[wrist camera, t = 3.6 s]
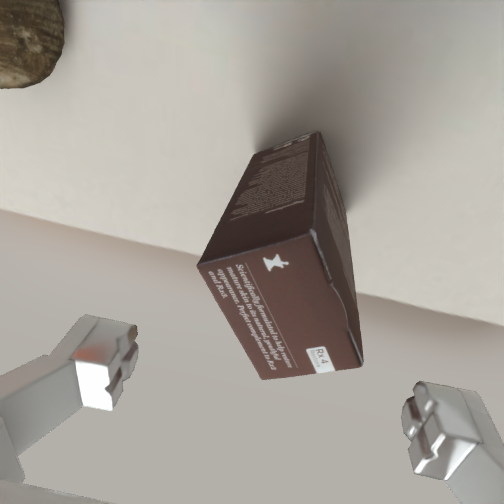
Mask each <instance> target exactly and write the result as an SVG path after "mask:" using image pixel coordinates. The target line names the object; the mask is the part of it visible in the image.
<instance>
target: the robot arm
mask: <svg viewBox="0 0 504 504" xmlns="http://www.w3.org/2000/svg"><path fill="white" fill-rule="evenodd" d="M137 335H138V332H137V326H136V325H133V324H128V323H124V322H119V321H115V320H111V319H106V318H100V317H95V316H91V315H86V314H85V315H84V316H82V317H80V318H79V320H78V321H77V322H76V323H75V325H74V326H73V327H72V328H71V329H70V331H69V332H68V333H67V335H66V336H65V337H64V338H63V339H62V340H61V342H60V343H59V344H58V345H57V347H56V348H55V349H54V350H53V351H52V353H51V354H50V355H49V356H48V355H42V356H40V357H38V358H36V359H34V360H32V361H30V362H28V363H26V364H24V365H22V366H20V367H18V368H16V369H14V370H12V371H9V372H7V373H6V374H3V375H1V376H0V504H114V503H109V502H105V501H101V500H96V499H91V498H87V497H83V496H78V495H73V494H69V493H64V492H60V491H55V490H51V489H46V488H41V487H37V486H32V485H28V484H23V483H22V482H23V481H24V479H25V475H24V471H23V468H22V466H21V464H20V461H19V458H18V455H20V454H21V453H22V452H24V451H25V450H26V449H28V448H29V447H30V446H32V445H33V444H34V443H36V442H37V441H38V440H39V439H41V438H42V437H44V436H45V435H46V434H48V433H49V432H50V431H52V430H53V429H54V428H55V427H57V426H58V425H60V424H61V423H62V422H64V421H65V420H66V419H68V418H69V417H70V416H71V415H73V414H74V413H75V412H77V411H78V410H80V409H81V408H82V406H88V407H94V408H99V409H105V410H111V411H113V409H114V407H115V405H116V403H117V401H118V399H119V398H120V396H121V394H122V392H123V381H125V380H127V379H128V378H130V376H131V374H132V372H133V370H134V368H135V364H136V362H137V358H138V345H137V343H136V342H135V341H134V340H135V339H136V337H137ZM413 392H414V395H415V396H413V397H410V398H408V399H407V400H406V402H405V404H404V406H403V409H402V427H403V431H404V434H405V435H406V436H407V437H408V439H409V440H410V441H411V444H410V446H409V448H408V452H409V455H410V459H411V463H412V467H413V471H414V474H417V475H421V476H426V477H430V478H434V479H438V480H443V481H447V482H446V484H447V485H448V487H449V488H450V490H451V491H452V492H453V493H454V495H455V496H456V498H457V499H458V501H459V502H460V503H461V504H504V444H503V442H502V439H501V437H500V435H499V433H498V431H497V430H496V427H495V425H494V423H493V421H492V419H491V417H490V415H489V413H488V411H487V409H486V407H485V405H484V403H483V401H482V399H481V397H480V395H479V394H478V393H477V392H475V391H471V390H465V389H460V388H454V387H449V386H445V385H439V384H433V383H429V382H423V381H419V382H418V383H416V385H415V386H414V388H413Z"/></svg>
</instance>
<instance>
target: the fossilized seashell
mask: <svg viewBox="0 0 504 504" xmlns="http://www.w3.org/2000/svg"><path fill="white" fill-rule="evenodd" d="M64 43H65V42H64V20H63V16H62V11H61V8H60V5H59V2H58V0H0V89H4V88H6V89H10V88H26V87H29V86H31V85H35V84H38V83H40V82H42V81H43V80H44V79H45V78H47V77H48V76H50V74H51V73H52V71H53V69H54V68H55V65H56V62H57V61H58V59H59V58H60V56H61V54H62V49H63V46H64Z"/></svg>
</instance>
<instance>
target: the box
mask: <svg viewBox="0 0 504 504" xmlns="http://www.w3.org/2000/svg"><path fill="white" fill-rule="evenodd" d="M197 268H198V270H199V272H200V274H201V275H202V277H203V279H204V280H205V282H206V284H207V286H208V287H209V289H210V291H211V293H212V294H213V296H214V298H215V300H216V301H217V303H218V305H219V307H220V309H221V310H222V312H223V313H224V315H225V317H226V319H227V320H228V322H229V324H230V326H231V328H232V329H233V331H234V333H235V335H236V336H237V338H238V339H239V341H240V343H241V345H242V346H243V348H244V350H245V352H246V353H247V355H248V357H249V359H250V360H251V362H252V364H253V365H254V367H255V369H256V371H257V372H258V374H259V376H260V378H261V379H262V380H267V379H276V378H286V377H294V376H302V375H308V374H315V373H323V372H331V371H337V370H345V369H353V368H359V367H362V365H363V362H364V361H363V350H362V340H361V331H360V322H359V314H358V308H357V300H356V292H355V282H354V275H353V265H352V257H351V249H350V240H349V233H348V225H347V217H346V213H345V209H344V206H343V202H342V199H341V195H340V192H339V189H338V186H337V182H336V179H335V176H334V173H333V170H332V166H331V163H330V160H329V157H328V154H327V151H326V148H325V145H324V142H323V139H322V136H321V133H320V132H319V131H316V132H312V133H309V134H305V135H303V136H301V137H298V138H295V139H293V140H289V141H287V142H285V143H283V144H280V145H277V146H274V147H272V148H270V149H267V150H264V151H261V152H259V153H257V154H254V155H253V157H252V159H251V160H250V163H249V164H248V166H247V168H246V170H245V172H244V174H243V176H242V178H241V180H240V182H239V184H238V186H237V188H236V190H235V192H234V194H233V196H232V198H231V200H230V202H229V204H228V206H227V208H226V209H225V212H224V214H223V215H222V217H221V219H220V221H219V223H218V225H217V227H216V229H215V231H214V233H213V235H212V237H211V239H210V241H209V243H208V245H207V247H206V249H205V251H204V253H203V255H202V257H201V259H200V261H199V262H198V264H197Z"/></svg>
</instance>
